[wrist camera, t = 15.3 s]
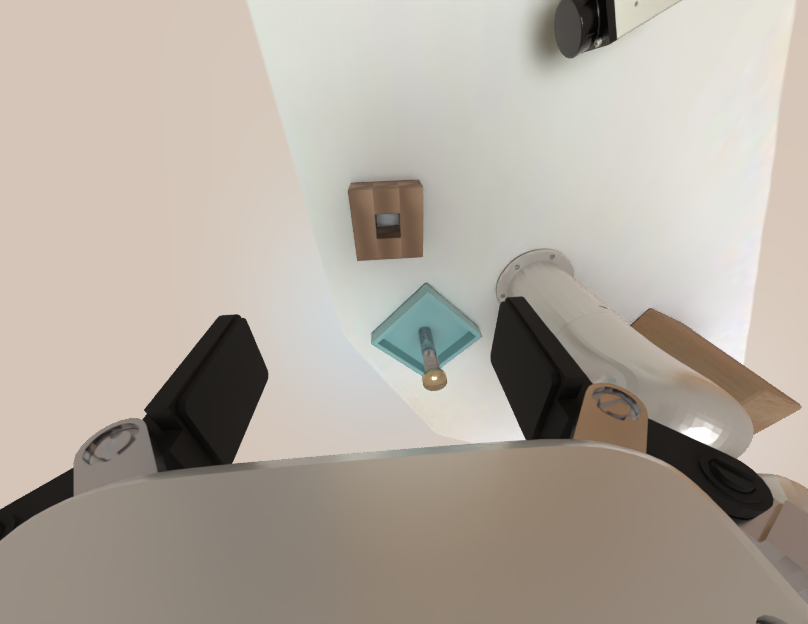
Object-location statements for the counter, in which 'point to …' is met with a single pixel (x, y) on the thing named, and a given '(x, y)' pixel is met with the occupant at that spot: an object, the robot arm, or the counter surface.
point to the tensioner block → (387, 200)
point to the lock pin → (430, 362)
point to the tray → (425, 311)
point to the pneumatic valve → (601, 21)
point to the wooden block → (717, 368)
